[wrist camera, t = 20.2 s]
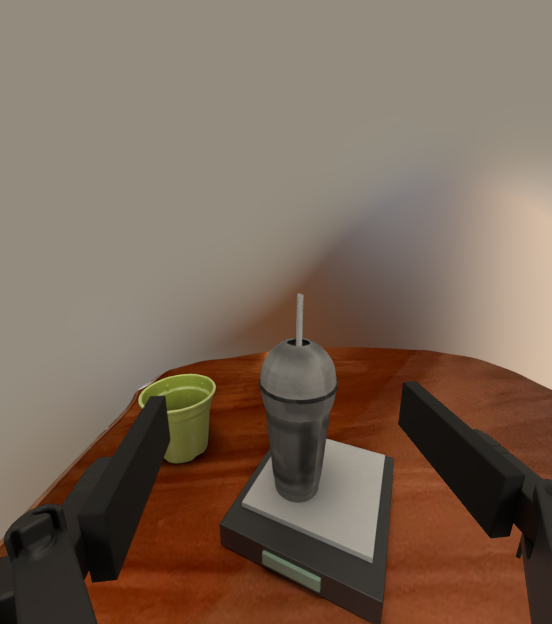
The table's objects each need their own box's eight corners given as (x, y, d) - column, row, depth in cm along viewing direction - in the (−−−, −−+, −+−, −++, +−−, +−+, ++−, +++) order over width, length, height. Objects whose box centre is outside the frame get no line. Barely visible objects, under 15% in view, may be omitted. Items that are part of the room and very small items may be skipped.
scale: (218, 547, 26) (216, 521, 25) (284, 442, 40) (284, 422, 39) (379, 632, 20) (383, 602, 20) (392, 475, 34) (394, 453, 33)
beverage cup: (326, 456, 33) (333, 284, 28) (339, 516, 26) (352, 300, 21) (263, 456, 33) (259, 285, 28) (259, 516, 26) (252, 301, 21)
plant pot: (136, 479, 34) (125, 415, 31) (158, 428, 43) (151, 375, 41) (216, 471, 35) (211, 408, 32) (221, 423, 44) (218, 371, 42)
